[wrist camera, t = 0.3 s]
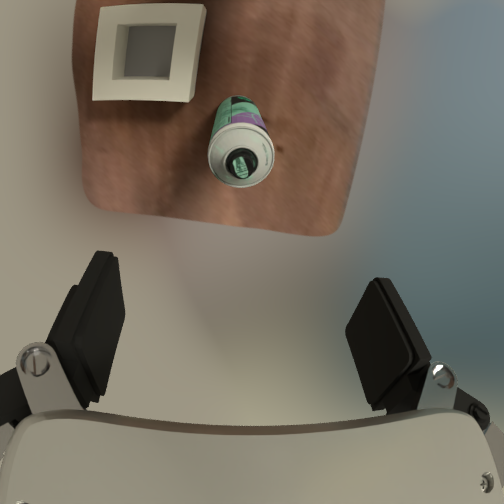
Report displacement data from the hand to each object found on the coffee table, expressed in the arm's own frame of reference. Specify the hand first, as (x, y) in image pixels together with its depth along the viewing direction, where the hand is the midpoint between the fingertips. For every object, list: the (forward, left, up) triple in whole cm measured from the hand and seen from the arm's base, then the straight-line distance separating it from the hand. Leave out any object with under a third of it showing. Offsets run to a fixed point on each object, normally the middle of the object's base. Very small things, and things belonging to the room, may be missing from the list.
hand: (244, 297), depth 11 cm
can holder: (-8, -12, -33) cm, 36 cm away
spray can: (0, 0, -33) cm, 33 cm away
